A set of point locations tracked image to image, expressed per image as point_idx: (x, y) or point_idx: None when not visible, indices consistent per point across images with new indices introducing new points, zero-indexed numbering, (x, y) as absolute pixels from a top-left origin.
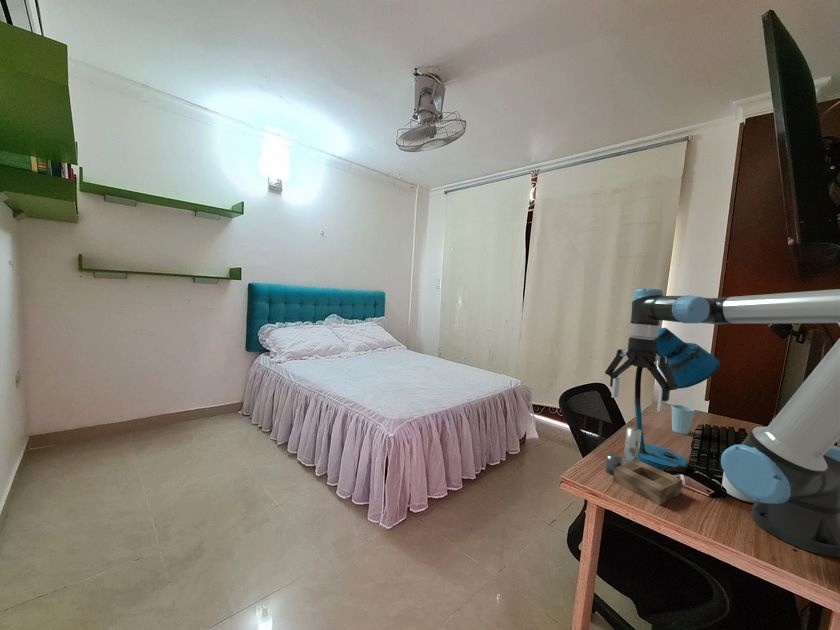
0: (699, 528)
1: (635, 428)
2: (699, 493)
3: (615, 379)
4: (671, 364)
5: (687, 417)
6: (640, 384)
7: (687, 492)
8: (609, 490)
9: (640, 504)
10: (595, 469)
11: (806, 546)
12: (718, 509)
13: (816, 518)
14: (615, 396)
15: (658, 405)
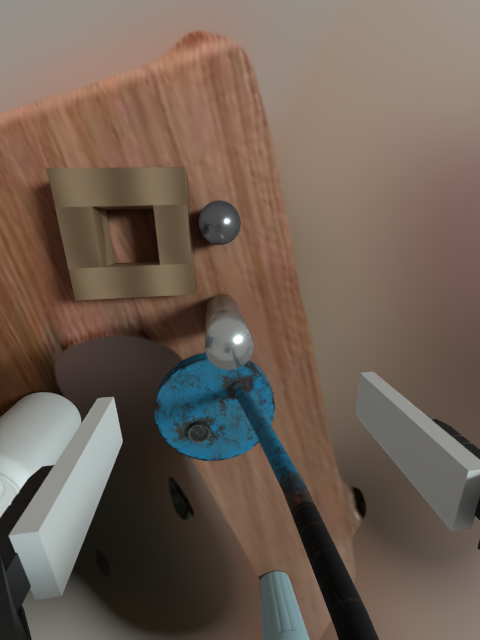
0: None
1: (233, 361)
2: (80, 338)
3: (461, 466)
4: None
5: (268, 631)
6: (326, 604)
7: (90, 315)
8: (157, 110)
9: (84, 127)
10: (245, 189)
11: None
12: (21, 307)
13: None
14: (361, 393)
15: (94, 419)
